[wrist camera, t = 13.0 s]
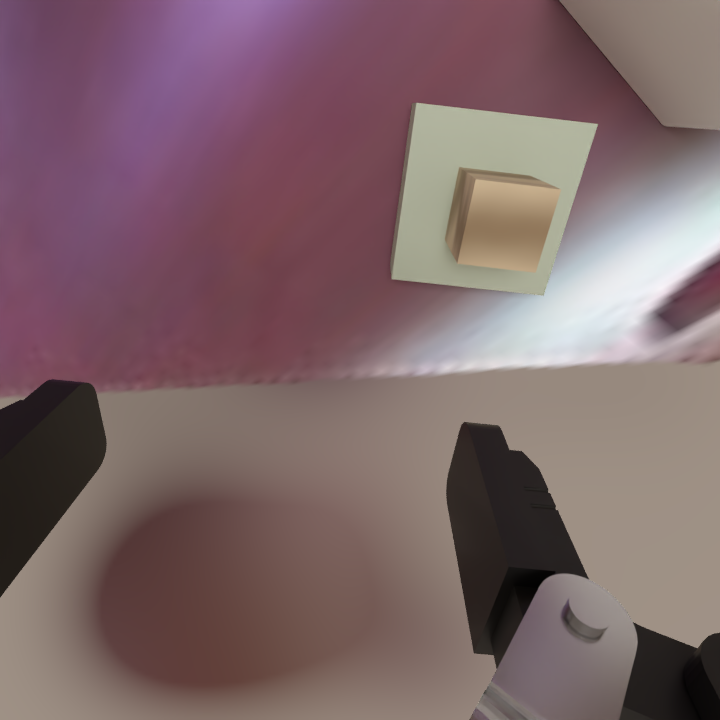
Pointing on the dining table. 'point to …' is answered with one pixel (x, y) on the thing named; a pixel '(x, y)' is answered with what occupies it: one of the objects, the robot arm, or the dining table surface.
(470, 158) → the sage plinth
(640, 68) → the gable box
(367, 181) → the dining table surface
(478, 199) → the maple block
